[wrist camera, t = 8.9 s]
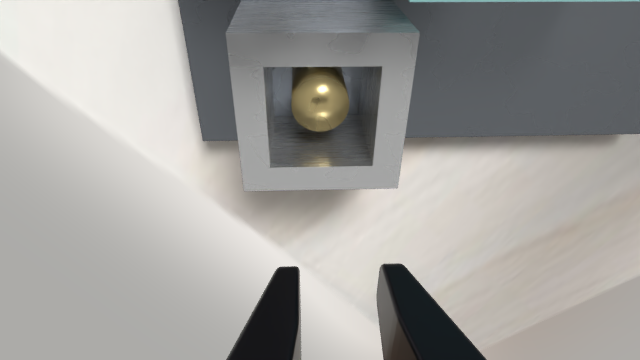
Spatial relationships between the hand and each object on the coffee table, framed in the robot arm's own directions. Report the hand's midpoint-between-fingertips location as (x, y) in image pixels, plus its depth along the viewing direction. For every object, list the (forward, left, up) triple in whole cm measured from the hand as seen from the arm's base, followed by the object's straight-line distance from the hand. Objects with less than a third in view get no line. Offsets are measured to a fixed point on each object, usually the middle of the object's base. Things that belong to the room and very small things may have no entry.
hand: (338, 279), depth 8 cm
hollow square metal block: (0, 0, -11) cm, 11 cm away
